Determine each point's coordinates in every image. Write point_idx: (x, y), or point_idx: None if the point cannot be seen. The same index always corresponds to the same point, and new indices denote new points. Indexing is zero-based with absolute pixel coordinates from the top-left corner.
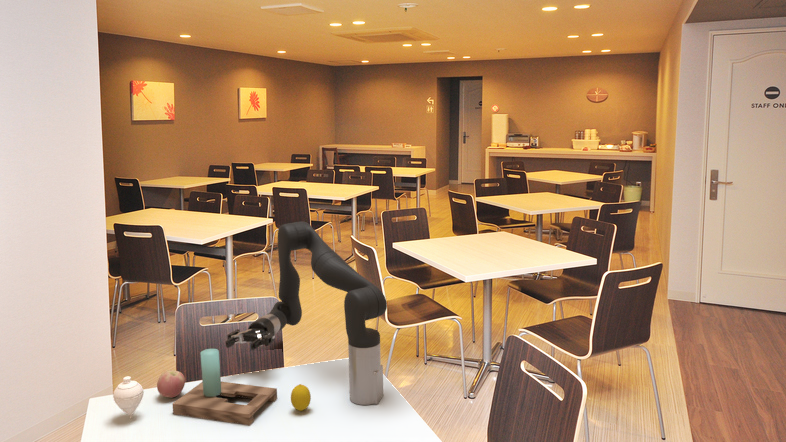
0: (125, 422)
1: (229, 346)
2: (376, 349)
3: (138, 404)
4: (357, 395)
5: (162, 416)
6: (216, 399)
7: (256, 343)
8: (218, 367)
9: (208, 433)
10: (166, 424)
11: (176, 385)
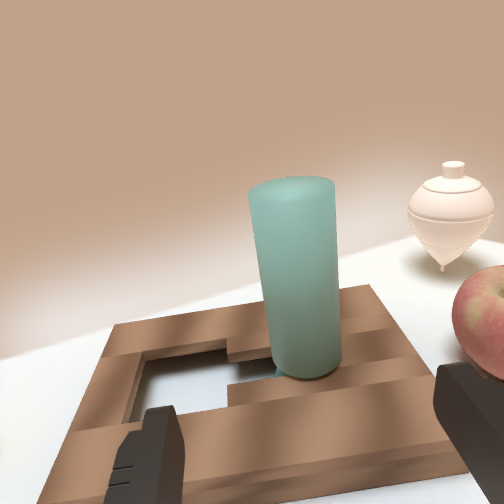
0: (430, 262)
1: (446, 424)
2: None
3: (420, 240)
4: None
5: (383, 299)
6: (262, 339)
7: (121, 453)
8: (258, 263)
9: (213, 301)
10: None
11: (453, 306)
